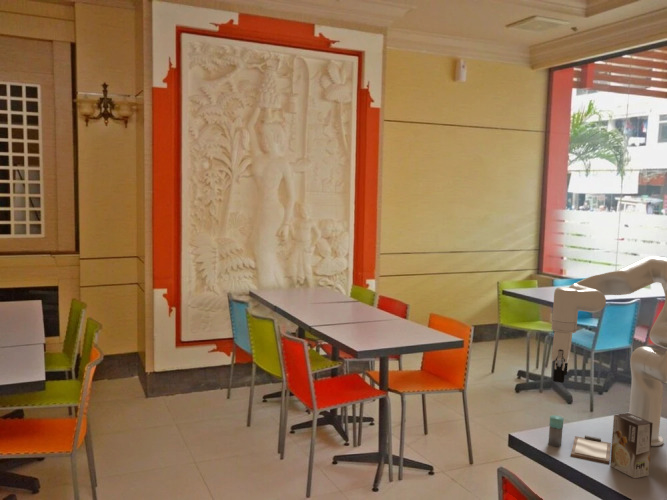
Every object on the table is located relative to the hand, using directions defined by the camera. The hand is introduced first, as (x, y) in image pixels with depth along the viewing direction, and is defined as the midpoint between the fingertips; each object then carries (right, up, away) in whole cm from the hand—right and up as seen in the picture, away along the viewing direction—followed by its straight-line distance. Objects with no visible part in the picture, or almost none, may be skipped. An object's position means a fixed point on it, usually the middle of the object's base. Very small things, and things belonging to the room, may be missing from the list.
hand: (560, 378), depth 198 cm
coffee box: (+15, -25, -15) cm, 33 cm away
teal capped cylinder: (-1, -22, +2) cm, 22 cm away
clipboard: (+9, -23, -2) cm, 25 cm away
